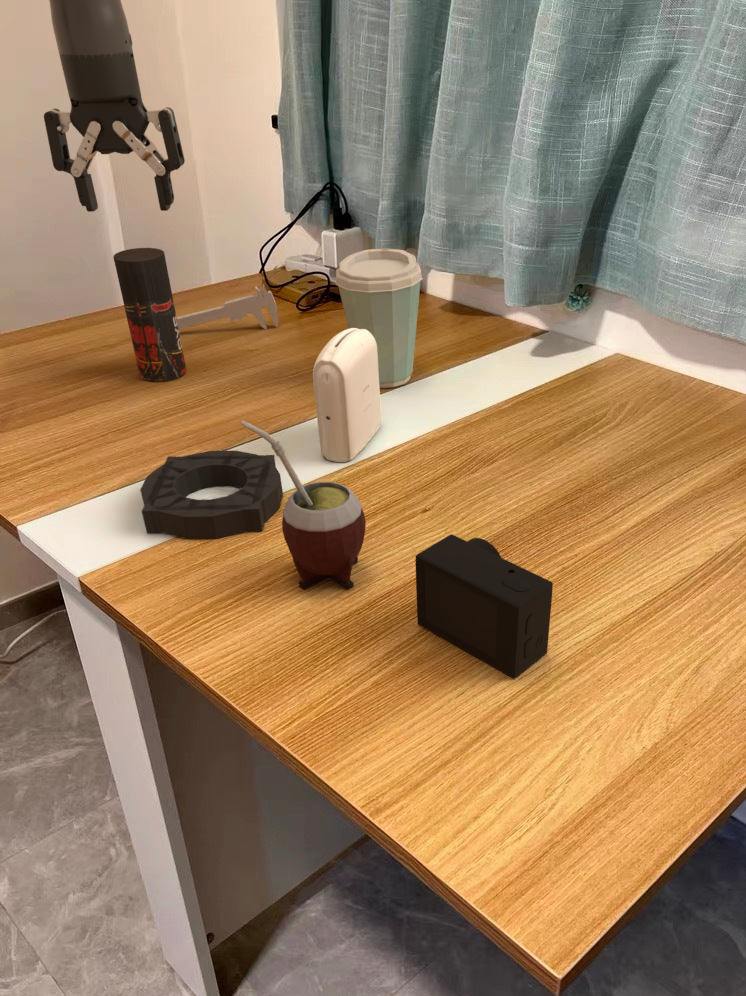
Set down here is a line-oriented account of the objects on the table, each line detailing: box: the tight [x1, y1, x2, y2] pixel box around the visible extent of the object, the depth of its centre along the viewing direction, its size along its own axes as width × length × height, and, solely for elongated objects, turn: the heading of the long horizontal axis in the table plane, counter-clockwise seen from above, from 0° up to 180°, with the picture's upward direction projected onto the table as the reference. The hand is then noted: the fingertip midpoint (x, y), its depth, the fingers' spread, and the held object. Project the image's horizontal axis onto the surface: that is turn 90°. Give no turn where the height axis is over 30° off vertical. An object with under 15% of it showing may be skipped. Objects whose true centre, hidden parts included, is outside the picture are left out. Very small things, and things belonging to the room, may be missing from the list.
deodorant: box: [112, 247, 187, 383], centre depth 112 cm, size 6×6×15 cm
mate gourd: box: [241, 419, 367, 591], centre depth 74 cm, size 8×8×15 cm
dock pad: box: [140, 450, 284, 540], centre depth 88 cm, size 13×13×2 cm
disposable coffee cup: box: [335, 248, 424, 389], centre depth 110 cm, size 11×11×15 cm
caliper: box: [176, 283, 279, 330], centre depth 126 cm, size 20×1×6 cm, turn 101°
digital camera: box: [415, 533, 554, 680], centre depth 70 cm, size 10×5×7 cm, turn 48°
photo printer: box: [312, 328, 382, 463], centre depth 96 cm, size 10×4×12 cm, turn 162°
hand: (129, 209), depth 104 cm, fingers open, 8 cm apart
